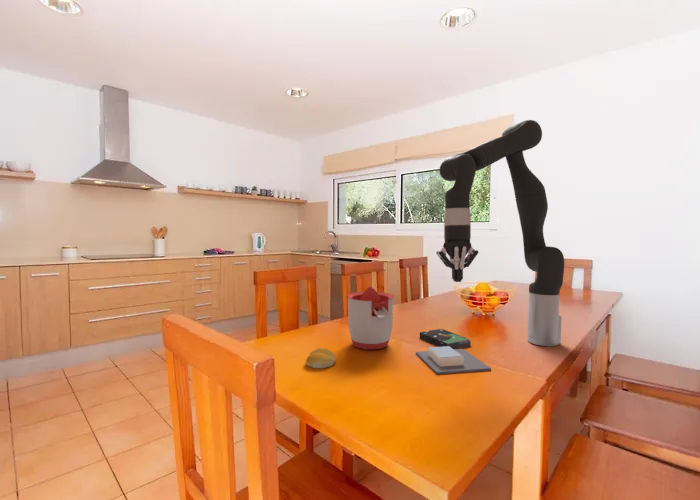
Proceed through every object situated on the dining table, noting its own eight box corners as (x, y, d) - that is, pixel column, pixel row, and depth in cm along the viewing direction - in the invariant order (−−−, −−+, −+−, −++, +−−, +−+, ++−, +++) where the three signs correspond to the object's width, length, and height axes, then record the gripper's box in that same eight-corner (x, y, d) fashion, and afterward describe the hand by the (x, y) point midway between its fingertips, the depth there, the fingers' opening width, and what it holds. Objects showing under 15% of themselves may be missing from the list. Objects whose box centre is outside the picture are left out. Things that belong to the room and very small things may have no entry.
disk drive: (418, 339, 126) (448, 351, 113) (418, 332, 126) (448, 343, 113) (441, 335, 131) (471, 346, 118) (441, 328, 131) (471, 338, 118)
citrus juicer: (360, 357, 107) (360, 292, 106) (340, 340, 123) (340, 284, 122) (404, 350, 113) (405, 289, 112) (380, 335, 129) (380, 282, 128)
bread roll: (303, 368, 99) (302, 354, 99) (311, 357, 108) (311, 344, 107) (331, 370, 97) (331, 356, 97) (338, 359, 106) (338, 346, 106)
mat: (463, 350, 113) (463, 348, 113) (491, 370, 97) (491, 368, 97) (415, 353, 110) (415, 351, 110) (436, 374, 94) (436, 372, 94)
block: (449, 345, 108) (427, 347, 107) (463, 356, 99) (440, 357, 98) (449, 354, 108) (427, 355, 107) (463, 365, 99) (440, 366, 98)
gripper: (471, 223, 109) (471, 279, 110) (431, 224, 107) (431, 280, 108) (484, 223, 102) (484, 282, 103) (441, 224, 99) (442, 284, 100)
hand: (457, 281), depth 105 cm, fingers closed
